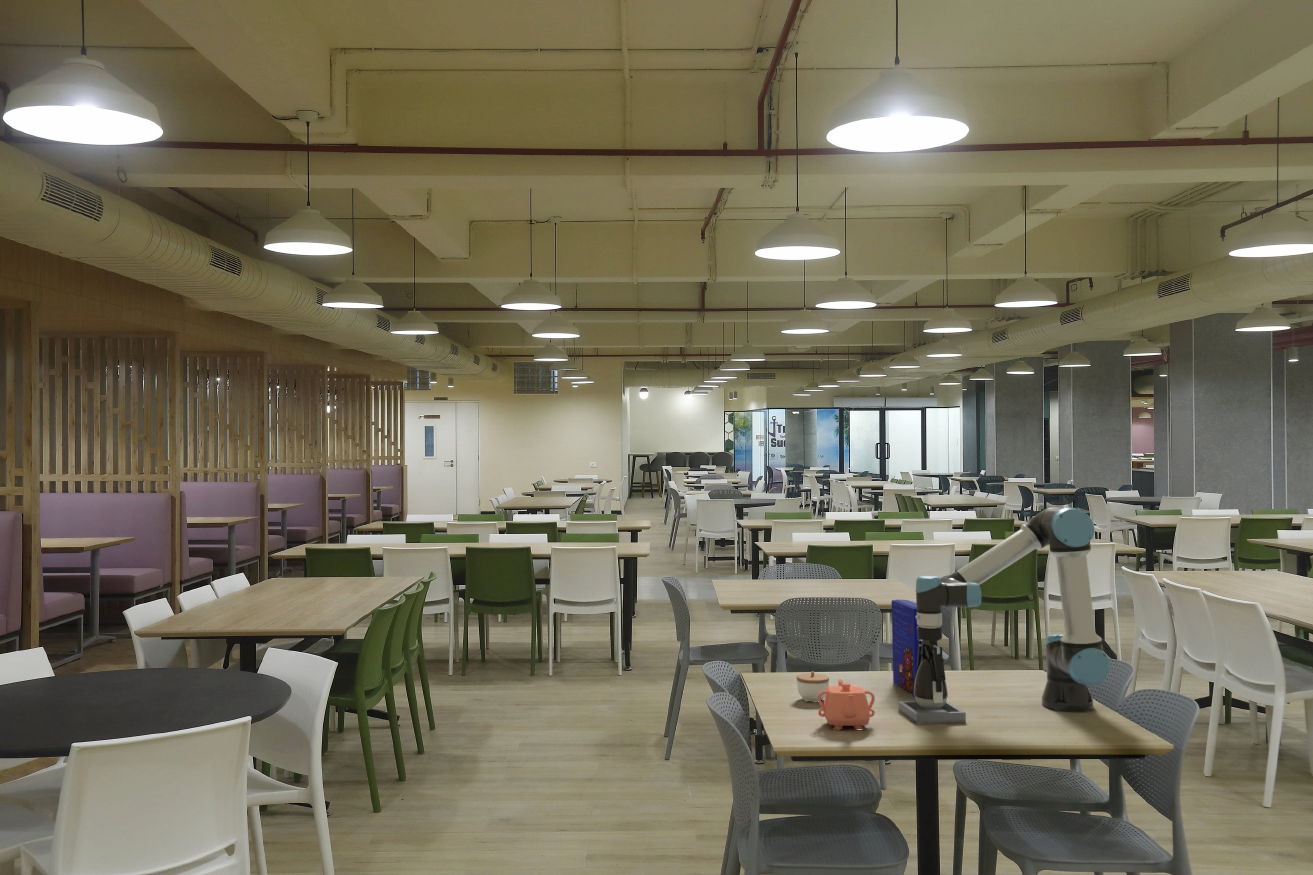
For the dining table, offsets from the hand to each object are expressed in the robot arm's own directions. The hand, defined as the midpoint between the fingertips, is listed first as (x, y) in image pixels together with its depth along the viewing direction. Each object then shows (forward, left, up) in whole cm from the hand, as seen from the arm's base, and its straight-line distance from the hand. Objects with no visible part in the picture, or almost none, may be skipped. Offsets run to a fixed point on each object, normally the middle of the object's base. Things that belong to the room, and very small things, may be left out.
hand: (931, 697), depth 280 cm
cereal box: (-7, -35, -6) cm, 36 cm away
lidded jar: (+31, -25, -6) cm, 40 cm away
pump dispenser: (0, 0, -3) cm, 3 cm away
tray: (0, 0, -6) cm, 6 cm away
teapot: (+29, +7, -6) cm, 30 cm away
